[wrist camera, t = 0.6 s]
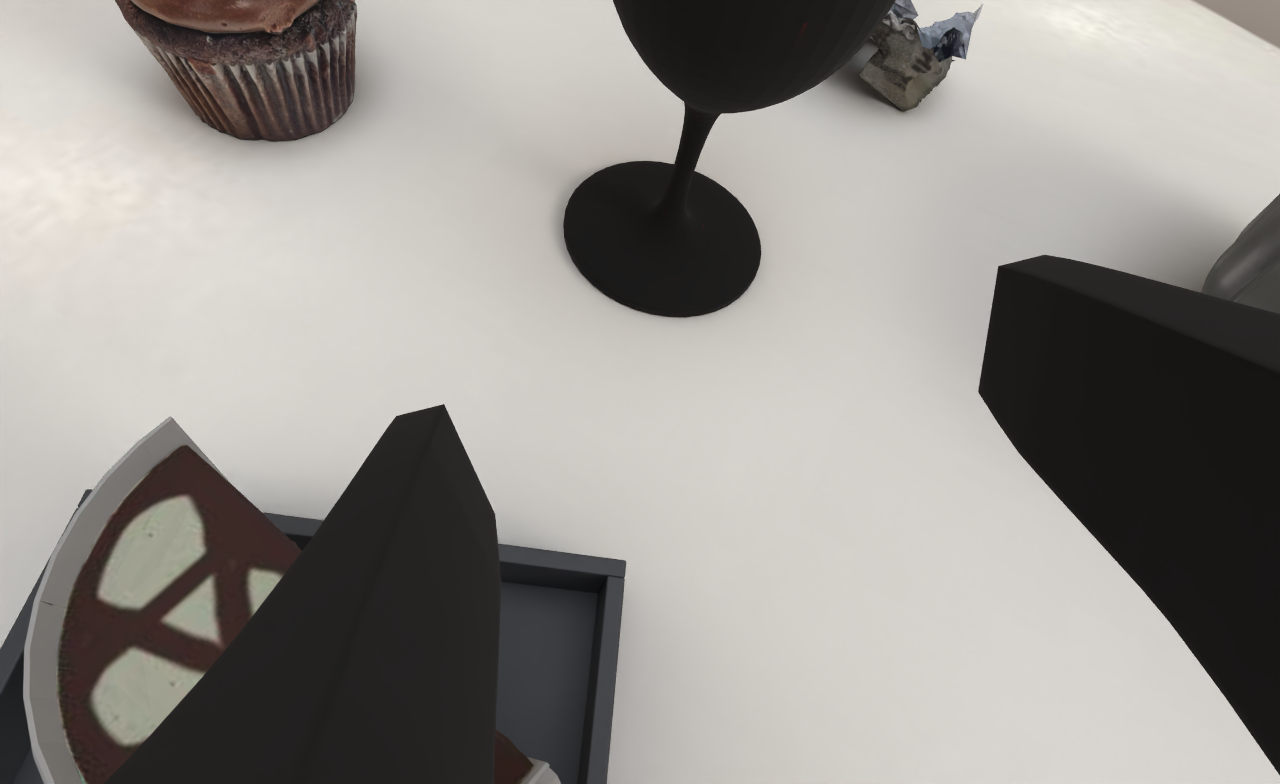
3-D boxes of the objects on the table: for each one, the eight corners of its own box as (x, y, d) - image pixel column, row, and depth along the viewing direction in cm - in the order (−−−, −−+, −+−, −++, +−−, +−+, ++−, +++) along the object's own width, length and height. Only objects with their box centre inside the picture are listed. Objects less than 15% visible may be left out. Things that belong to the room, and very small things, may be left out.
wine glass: (564, 154, 37) (625, -395, 20) (748, 177, 38) (949, -307, 21) (559, 309, 31) (635, -258, 14) (772, 327, 33) (1062, -158, 16)
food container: (101, 689, 21) (-170, 617, 12) (275, 540, 24) (155, 401, 15) (389, 995, 18) (300, 1167, 10) (540, 787, 22) (570, 783, 13)
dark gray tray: (573, 1010, 19) (584, 1041, 17) (-102, 975, 17) (-194, 1003, 15) (614, 581, 25) (626, 560, 23) (125, 518, 23) (86, 488, 21)
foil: (923, 124, 38) (798, -146, 34) (786, 183, 48) (674, -24, 43) (1007, 44, 44) (908, -199, 39) (869, 111, 53) (776, -80, 48)
